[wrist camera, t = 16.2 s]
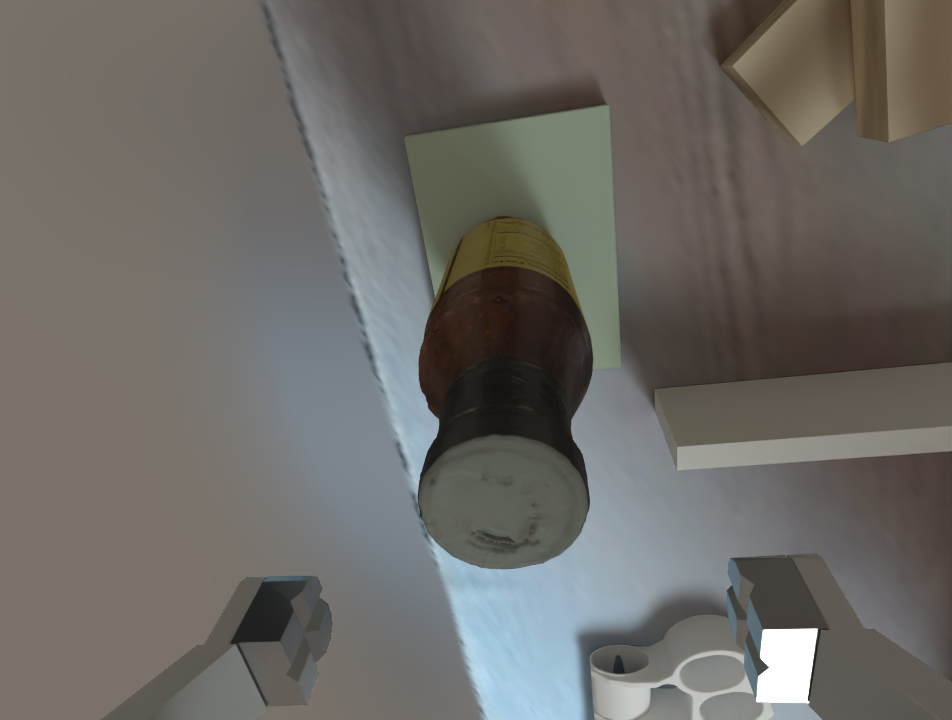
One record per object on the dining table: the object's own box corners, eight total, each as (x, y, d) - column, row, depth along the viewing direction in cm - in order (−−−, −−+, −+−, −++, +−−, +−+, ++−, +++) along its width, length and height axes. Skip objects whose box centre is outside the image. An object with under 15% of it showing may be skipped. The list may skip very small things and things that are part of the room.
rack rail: (1017, 379, 33) (1112, 439, 27) (654, 410, 36) (677, 470, 30) (1023, 355, 32) (1122, 412, 27) (654, 388, 35) (677, 447, 30)
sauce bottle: (510, 342, 33) (494, 654, 15) (427, 270, 32) (302, 526, 14) (595, 261, 31) (690, 523, 13) (509, 178, 29) (484, 349, 11)
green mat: (619, 359, 34) (621, 367, 33) (453, 375, 36) (451, 383, 35) (606, 103, 28) (609, 104, 27) (407, 135, 30) (403, 137, 29)
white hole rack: (585, 613, 45) (785, 607, 43) (596, 751, 53) (765, 751, 51) (589, 652, 42) (805, 647, 40) (600, 792, 50) (780, 794, 48)
